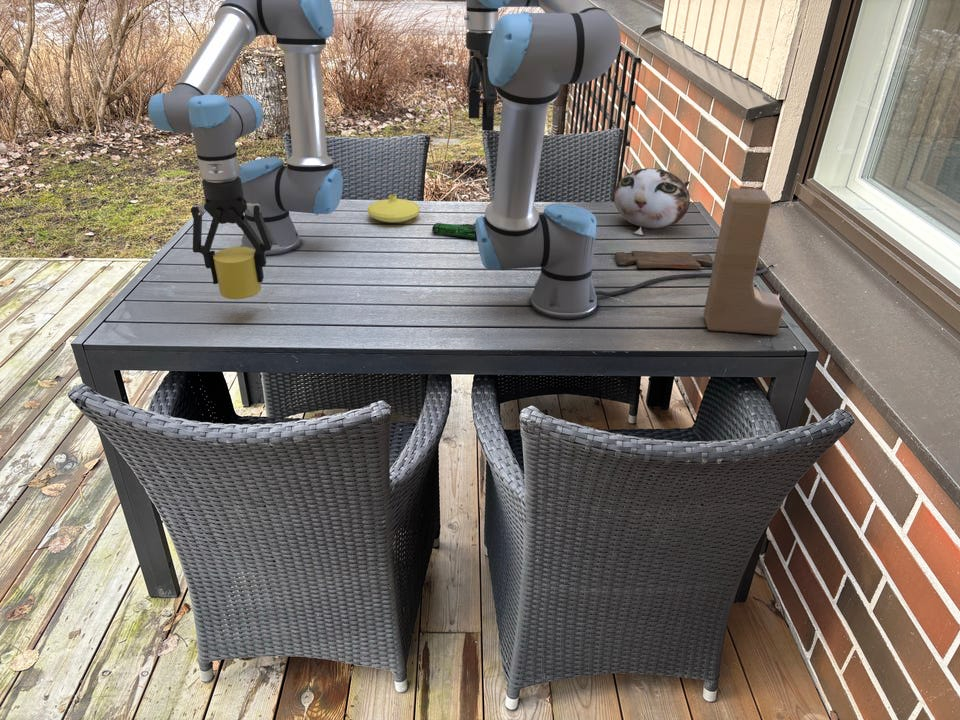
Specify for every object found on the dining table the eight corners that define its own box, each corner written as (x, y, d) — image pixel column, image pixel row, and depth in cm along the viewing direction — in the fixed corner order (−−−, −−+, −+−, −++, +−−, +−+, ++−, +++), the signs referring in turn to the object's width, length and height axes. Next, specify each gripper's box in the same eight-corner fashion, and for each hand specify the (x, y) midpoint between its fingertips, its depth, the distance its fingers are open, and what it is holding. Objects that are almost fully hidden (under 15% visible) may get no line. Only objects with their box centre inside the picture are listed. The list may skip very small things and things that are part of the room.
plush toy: (594, 216, 205) (617, 152, 207) (611, 239, 221) (631, 180, 223) (669, 229, 195) (692, 162, 196) (681, 253, 210) (702, 191, 212)
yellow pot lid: (391, 206, 226) (390, 184, 222) (430, 216, 218) (430, 194, 214) (356, 220, 215) (355, 197, 211) (396, 231, 207) (395, 207, 203)
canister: (266, 293, 155) (260, 257, 151) (225, 302, 151) (218, 265, 147) (255, 279, 161) (249, 244, 157) (215, 287, 158) (208, 251, 153)
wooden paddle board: (717, 272, 186) (707, 257, 194) (718, 266, 185) (709, 251, 193) (618, 268, 186) (613, 254, 195) (619, 262, 185) (613, 248, 194)
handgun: (502, 218, 210) (482, 233, 198) (502, 228, 212) (482, 243, 199) (452, 211, 216) (430, 225, 203) (452, 221, 217) (430, 235, 205)
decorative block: (777, 336, 155) (812, 202, 140) (707, 331, 157) (733, 198, 142) (770, 320, 162) (802, 191, 146) (702, 315, 163) (727, 187, 148)
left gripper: (160, 184, 139) (183, 289, 151) (273, 182, 141) (287, 286, 153) (170, 173, 146) (191, 275, 157) (278, 171, 148) (291, 271, 159)
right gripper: (454, 25, 178) (455, 113, 188) (479, 37, 157) (478, 136, 168) (483, 25, 179) (482, 112, 190) (512, 37, 159) (509, 134, 169)
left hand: (239, 280), depth 155 cm, fingers closed on canister, 9 cm apart
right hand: (480, 124), depth 179 cm, fingers open, 13 cm apart
